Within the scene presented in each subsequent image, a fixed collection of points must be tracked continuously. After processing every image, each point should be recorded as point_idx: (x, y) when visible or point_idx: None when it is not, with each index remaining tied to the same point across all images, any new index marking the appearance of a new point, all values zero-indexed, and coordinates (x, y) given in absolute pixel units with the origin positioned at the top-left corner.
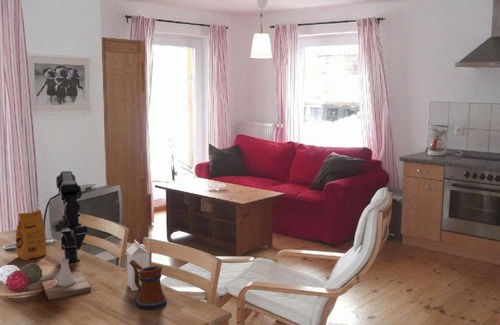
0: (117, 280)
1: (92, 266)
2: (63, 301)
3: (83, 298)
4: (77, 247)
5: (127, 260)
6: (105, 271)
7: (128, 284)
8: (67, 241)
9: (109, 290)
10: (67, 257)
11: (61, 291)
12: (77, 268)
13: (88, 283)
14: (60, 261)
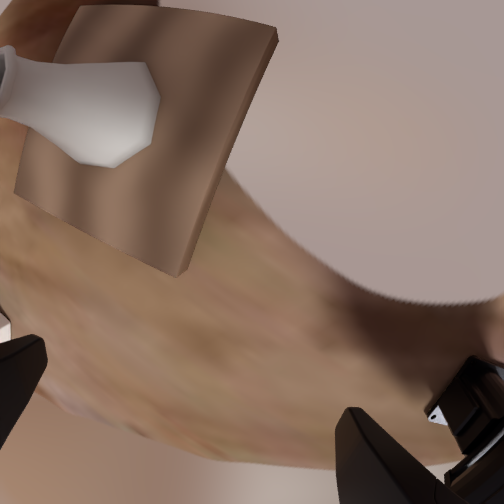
0: (58, 341)
1: (305, 415)
2: (43, 59)
3: (11, 132)
4: (9, 348)
5: None
6: (183, 400)
7: (2, 319)
8: (380, 470)
9: (6, 248)
10: (483, 385)
11: (62, 60)
12: (358, 356)
13: (40, 207)
14: (5, 48)
